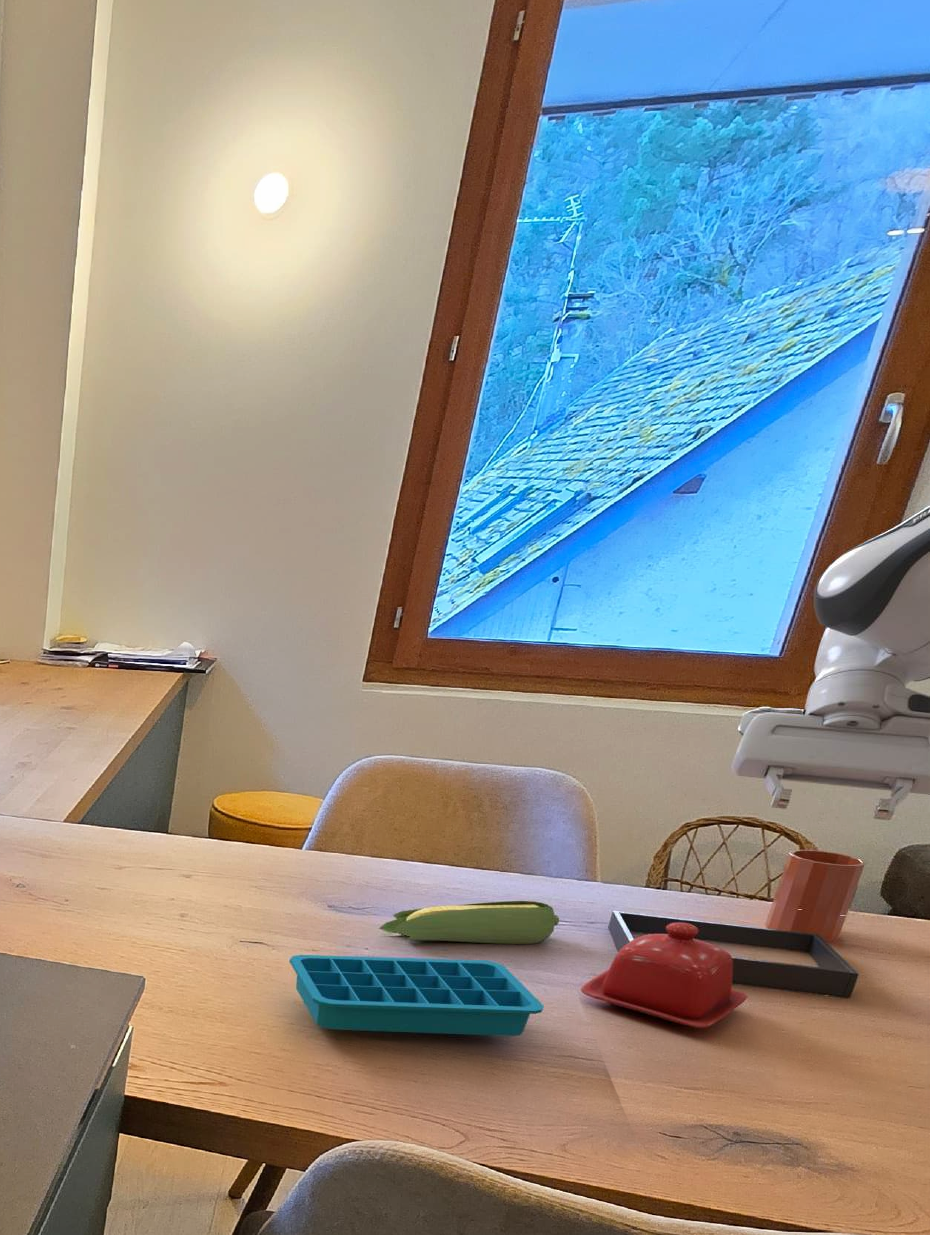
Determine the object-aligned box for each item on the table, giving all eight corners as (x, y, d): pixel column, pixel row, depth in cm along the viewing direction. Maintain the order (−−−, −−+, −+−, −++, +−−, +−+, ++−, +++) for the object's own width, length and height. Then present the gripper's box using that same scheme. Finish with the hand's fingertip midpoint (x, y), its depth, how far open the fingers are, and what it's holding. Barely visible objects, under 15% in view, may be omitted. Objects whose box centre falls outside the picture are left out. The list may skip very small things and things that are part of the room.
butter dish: (570, 1000, 117) (593, 921, 114) (620, 971, 123) (643, 894, 120) (702, 1041, 109) (731, 957, 105) (749, 1008, 115) (778, 926, 111)
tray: (809, 960, 129) (819, 934, 127) (849, 1001, 118) (859, 973, 116) (605, 935, 136) (612, 910, 135) (624, 972, 125) (632, 945, 124)
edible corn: (562, 950, 131) (573, 912, 129) (380, 951, 132) (388, 913, 130) (538, 933, 136) (547, 895, 134) (362, 934, 136) (369, 897, 134)
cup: (824, 938, 135) (854, 853, 132) (842, 956, 130) (874, 868, 126) (755, 930, 138) (782, 847, 134) (770, 947, 132) (799, 861, 128)
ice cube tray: (541, 1040, 107) (549, 1011, 106) (310, 1032, 110) (316, 1003, 109) (492, 988, 118) (498, 960, 117) (282, 981, 120) (287, 954, 119)
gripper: (749, 689, 143) (726, 783, 139) (974, 704, 132) (956, 807, 128) (737, 722, 148) (714, 813, 144) (953, 739, 137) (934, 838, 133)
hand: (830, 810), depth 136 cm, fingers open, 8 cm apart
